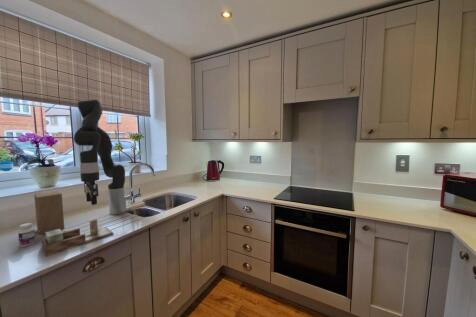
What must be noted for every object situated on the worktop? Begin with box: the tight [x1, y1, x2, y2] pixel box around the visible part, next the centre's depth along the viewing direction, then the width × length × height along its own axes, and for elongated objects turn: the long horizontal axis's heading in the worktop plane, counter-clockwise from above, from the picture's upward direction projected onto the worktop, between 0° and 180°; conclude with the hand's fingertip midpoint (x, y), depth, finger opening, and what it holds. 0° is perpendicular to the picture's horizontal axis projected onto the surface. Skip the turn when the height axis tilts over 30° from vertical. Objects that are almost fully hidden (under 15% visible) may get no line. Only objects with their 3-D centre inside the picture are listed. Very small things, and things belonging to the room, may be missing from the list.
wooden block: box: [33, 190, 65, 235], centre depth 112 cm, size 10×10×20 cm
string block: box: [44, 218, 99, 244], centre depth 98 cm, size 19×7×7 cm, turn 140°
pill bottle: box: [18, 222, 37, 248], centre depth 96 cm, size 5×5×10 cm
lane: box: [40, 226, 114, 257], centre depth 100 cm, size 26×11×4 cm, turn 140°
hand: (91, 202), depth 103 cm, fingers open, 8 cm apart
